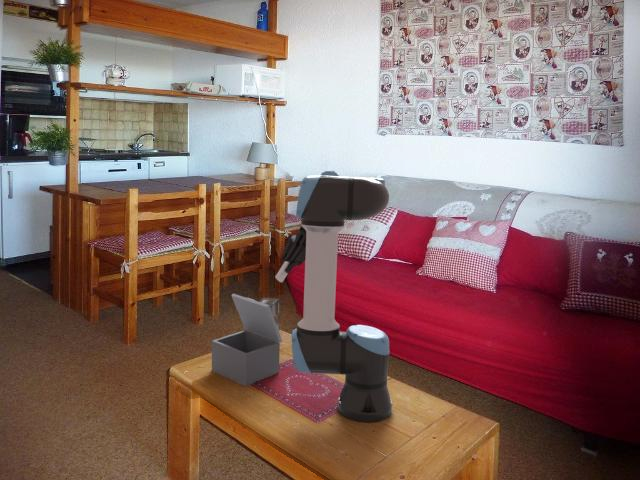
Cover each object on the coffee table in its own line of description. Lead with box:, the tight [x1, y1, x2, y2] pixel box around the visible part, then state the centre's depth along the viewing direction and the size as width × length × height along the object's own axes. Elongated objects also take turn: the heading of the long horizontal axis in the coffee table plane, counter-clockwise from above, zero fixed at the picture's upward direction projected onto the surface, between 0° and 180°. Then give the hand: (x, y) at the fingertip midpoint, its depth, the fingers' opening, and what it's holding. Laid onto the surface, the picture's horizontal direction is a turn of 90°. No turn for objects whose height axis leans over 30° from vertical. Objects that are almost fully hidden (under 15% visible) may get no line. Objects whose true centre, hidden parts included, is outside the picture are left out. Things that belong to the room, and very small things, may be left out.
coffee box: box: [257, 297, 281, 342], centre depth 215 cm, size 9×6×16 cm
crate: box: [211, 329, 281, 387], centre depth 193 cm, size 16×14×10 cm
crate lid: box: [231, 293, 283, 344], centre depth 194 cm, size 16×14×1 cm
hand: (278, 279), depth 200 cm, fingers closed
